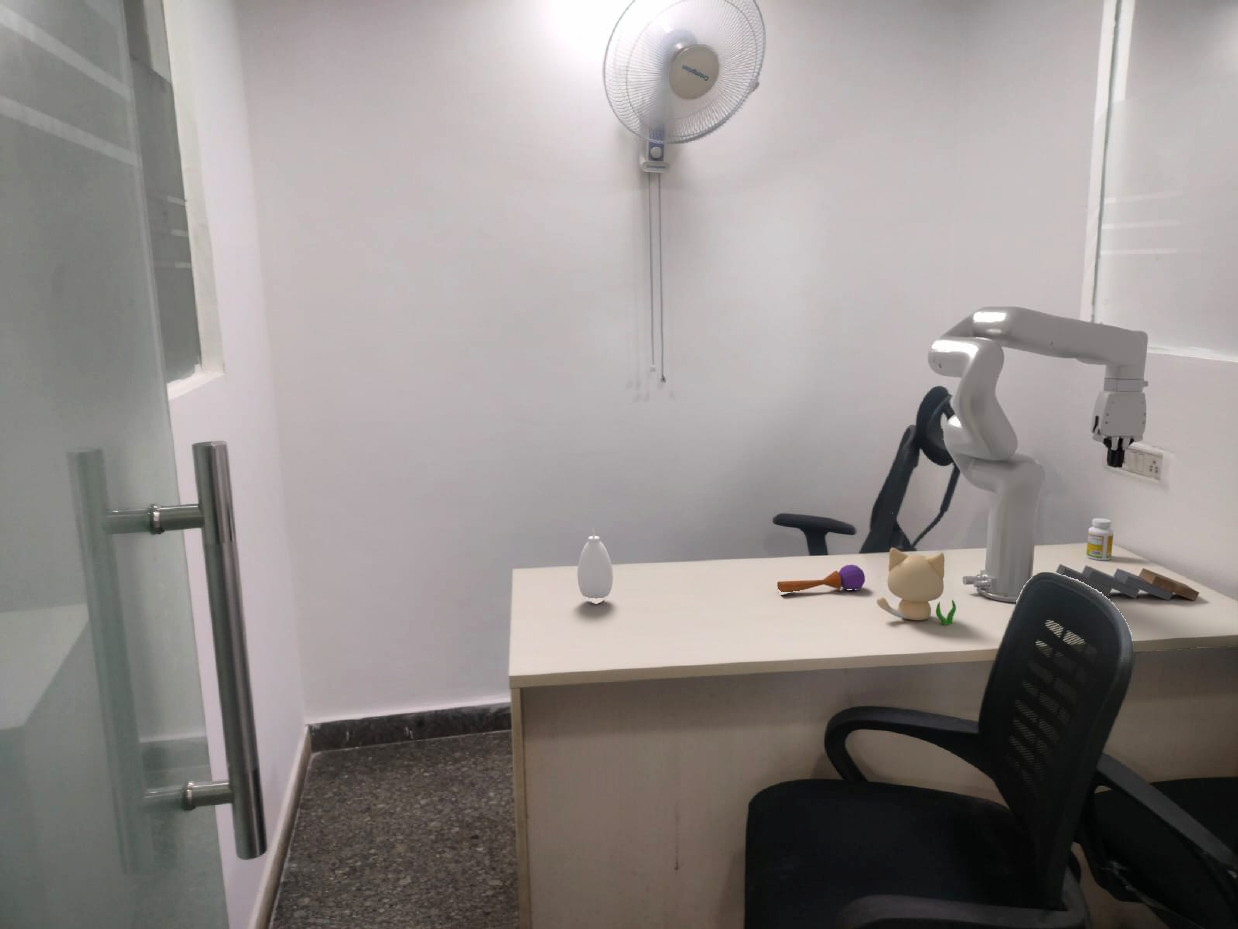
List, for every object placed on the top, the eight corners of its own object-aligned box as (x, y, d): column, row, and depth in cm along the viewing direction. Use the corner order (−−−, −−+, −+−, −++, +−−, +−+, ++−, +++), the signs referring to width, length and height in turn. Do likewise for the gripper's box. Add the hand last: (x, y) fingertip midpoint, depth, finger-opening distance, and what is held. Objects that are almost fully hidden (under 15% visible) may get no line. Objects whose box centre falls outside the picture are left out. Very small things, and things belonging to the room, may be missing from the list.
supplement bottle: (1104, 554, 207) (1108, 517, 205) (1115, 561, 202) (1118, 523, 200) (1082, 554, 208) (1085, 517, 206) (1092, 561, 202) (1095, 523, 200)
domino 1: (1107, 596, 177) (1061, 576, 179) (1100, 591, 182) (1055, 571, 184) (1112, 588, 177) (1065, 568, 179) (1105, 583, 181) (1060, 563, 183)
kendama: (774, 574, 188) (856, 561, 191) (777, 599, 188) (859, 586, 191) (782, 577, 182) (867, 564, 185) (785, 604, 182) (870, 590, 185)
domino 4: (1194, 600, 175) (1151, 584, 175) (1180, 592, 180) (1138, 576, 180) (1199, 592, 174) (1156, 575, 174) (1185, 584, 179) (1143, 568, 179)
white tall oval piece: (585, 595, 189) (582, 520, 185) (617, 598, 187) (615, 521, 183) (574, 607, 181) (570, 529, 178) (607, 610, 179) (605, 531, 176)
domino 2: (1135, 598, 176) (1088, 578, 178) (1126, 592, 181) (1081, 573, 183) (1139, 590, 176) (1093, 570, 177) (1131, 584, 181) (1086, 565, 182)
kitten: (957, 614, 171) (960, 546, 168) (953, 632, 162) (957, 560, 160) (883, 605, 178) (885, 538, 175) (875, 621, 169) (877, 551, 166)
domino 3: (1168, 600, 176) (1124, 584, 176) (1156, 592, 180) (1113, 576, 181) (1173, 592, 175) (1128, 575, 175) (1160, 584, 180) (1117, 568, 180)
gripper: (1146, 384, 187) (1137, 463, 191) (1080, 384, 187) (1072, 463, 191) (1167, 387, 180) (1157, 469, 183) (1098, 388, 180) (1090, 470, 183)
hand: (1114, 466), depth 187 cm, fingers closed
